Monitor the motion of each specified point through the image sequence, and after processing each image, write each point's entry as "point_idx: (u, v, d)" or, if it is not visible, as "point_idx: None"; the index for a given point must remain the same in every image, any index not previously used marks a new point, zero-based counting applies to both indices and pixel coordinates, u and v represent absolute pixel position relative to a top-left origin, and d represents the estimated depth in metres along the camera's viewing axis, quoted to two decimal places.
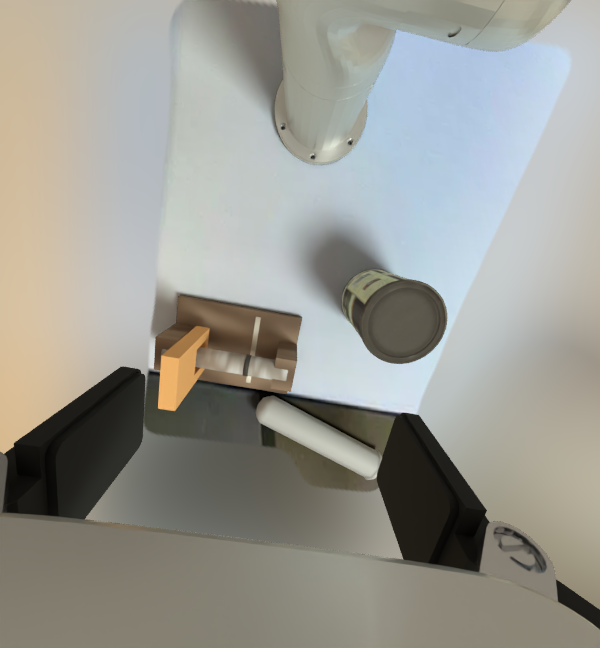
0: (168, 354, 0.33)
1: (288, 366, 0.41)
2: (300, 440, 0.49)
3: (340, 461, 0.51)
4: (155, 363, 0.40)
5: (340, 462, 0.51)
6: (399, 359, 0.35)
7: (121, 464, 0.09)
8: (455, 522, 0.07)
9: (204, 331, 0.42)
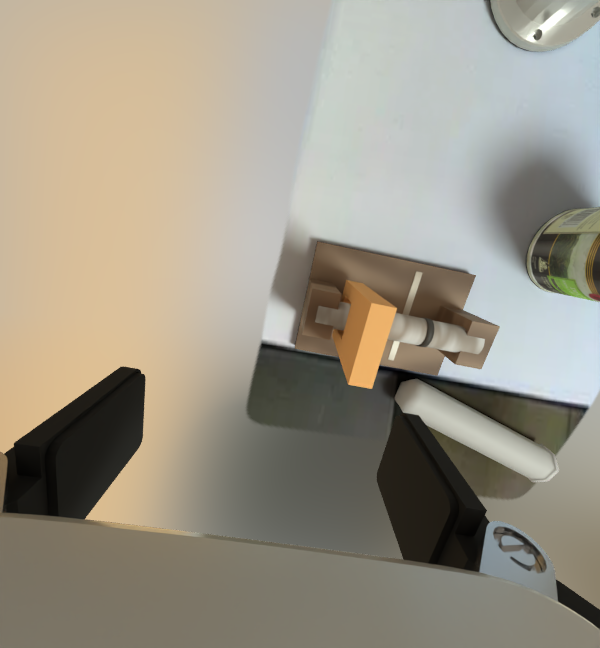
0: (376, 302, 0.22)
1: (486, 333, 0.30)
2: (457, 434, 0.38)
3: (505, 460, 0.39)
4: (305, 326, 0.29)
5: (504, 461, 0.40)
6: None
7: (121, 464, 0.09)
8: (455, 522, 0.07)
9: (364, 285, 0.31)
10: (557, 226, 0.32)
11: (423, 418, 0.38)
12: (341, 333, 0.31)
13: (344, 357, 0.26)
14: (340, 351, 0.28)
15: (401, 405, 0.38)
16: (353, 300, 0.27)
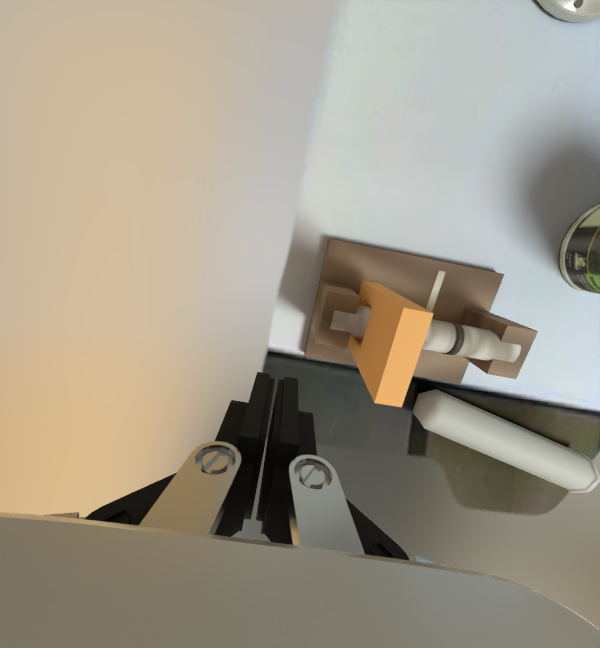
0: (408, 307, 0.18)
1: (522, 339, 0.26)
2: (485, 448, 0.35)
3: (540, 471, 0.36)
4: (319, 333, 0.26)
5: (538, 473, 0.36)
6: None
7: None
8: (275, 456, 0.07)
9: (384, 286, 0.28)
10: (596, 218, 0.29)
11: (446, 433, 0.34)
12: (358, 340, 0.28)
13: (366, 369, 0.23)
14: (359, 361, 0.25)
15: (421, 420, 0.35)
16: (374, 304, 0.24)
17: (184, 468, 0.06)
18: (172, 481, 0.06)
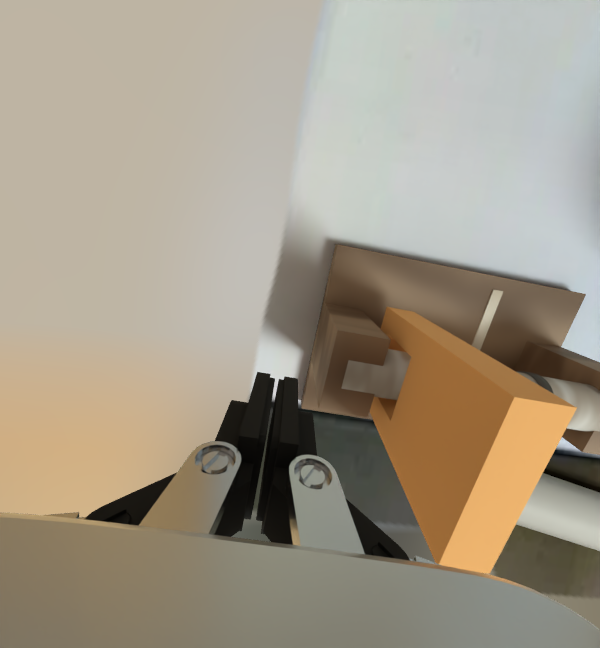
0: (516, 389, 0.09)
1: None
2: (554, 531, 0.25)
3: None
4: (324, 395, 0.16)
5: None
6: None
7: None
8: (275, 456, 0.07)
9: (422, 318, 0.18)
10: None
11: None
12: (384, 400, 0.18)
13: (407, 471, 0.13)
14: (390, 445, 0.15)
15: None
16: (418, 354, 0.14)
17: (184, 468, 0.06)
18: (172, 481, 0.06)
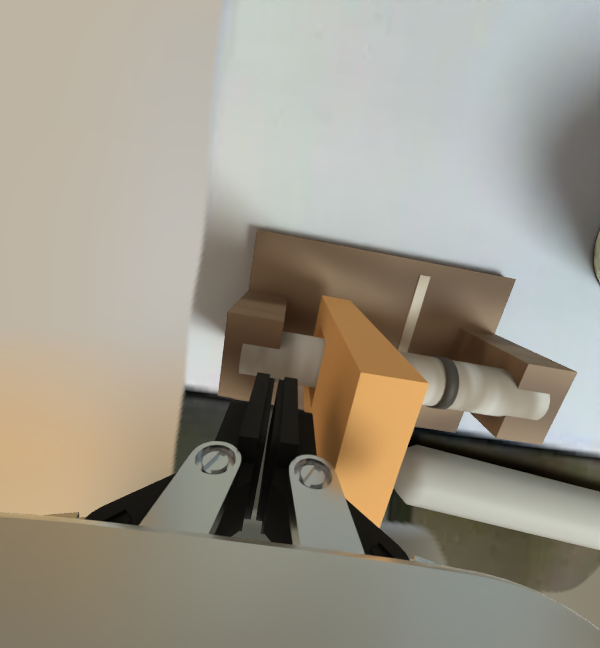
0: (374, 366, 0.08)
1: (552, 385, 0.16)
2: (497, 522, 0.25)
3: (580, 542, 0.25)
4: (222, 381, 0.16)
5: (578, 543, 0.26)
6: None
7: None
8: (275, 456, 0.07)
9: (352, 305, 0.18)
10: None
11: (437, 509, 0.24)
12: (314, 389, 0.18)
13: None
14: None
15: (400, 494, 0.25)
16: (328, 339, 0.14)
17: (184, 468, 0.06)
18: (172, 481, 0.06)
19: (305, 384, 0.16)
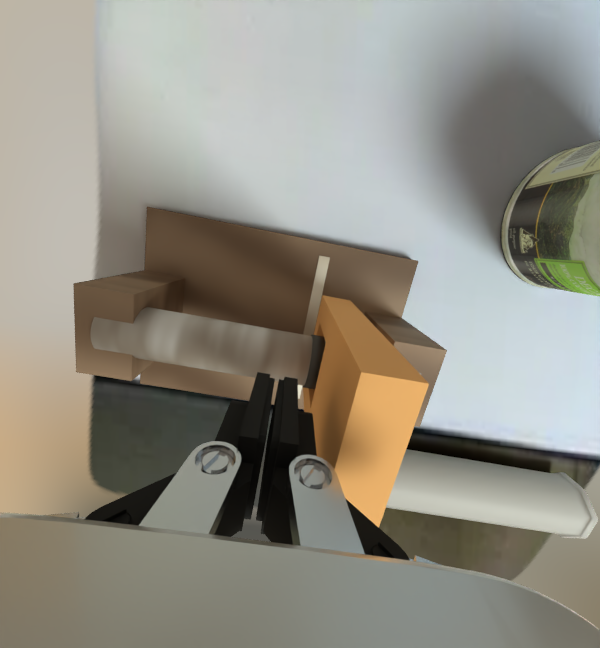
0: (374, 366, 0.09)
1: (423, 364, 0.16)
2: (412, 509, 0.24)
3: (504, 523, 0.25)
4: (78, 356, 0.15)
5: (504, 524, 0.25)
6: None
7: None
8: (275, 456, 0.07)
9: (352, 305, 0.18)
10: (548, 172, 0.19)
11: None
12: (313, 389, 0.18)
13: None
14: None
15: None
16: (328, 339, 0.14)
17: (184, 468, 0.06)
18: (172, 481, 0.06)
19: (166, 361, 0.16)
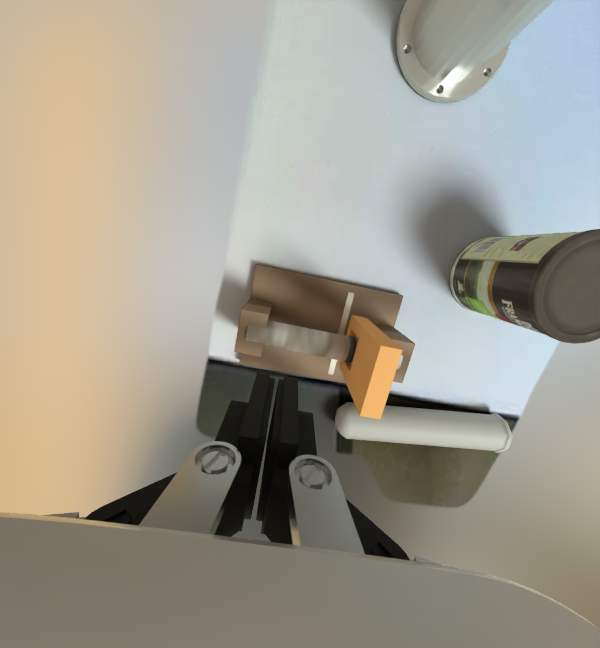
0: (384, 344, 0.25)
1: (403, 350, 0.32)
2: (401, 439, 0.40)
3: (458, 444, 0.41)
4: (237, 344, 0.32)
5: (458, 445, 0.41)
6: (576, 337, 0.26)
7: None
8: (275, 456, 0.07)
9: (369, 321, 0.34)
10: (470, 252, 0.36)
11: (363, 437, 0.40)
12: (348, 364, 0.34)
13: (354, 389, 0.29)
14: (349, 382, 0.31)
15: (340, 432, 0.41)
16: (361, 337, 0.30)
17: (184, 468, 0.06)
18: (172, 481, 0.06)
19: (279, 347, 0.32)
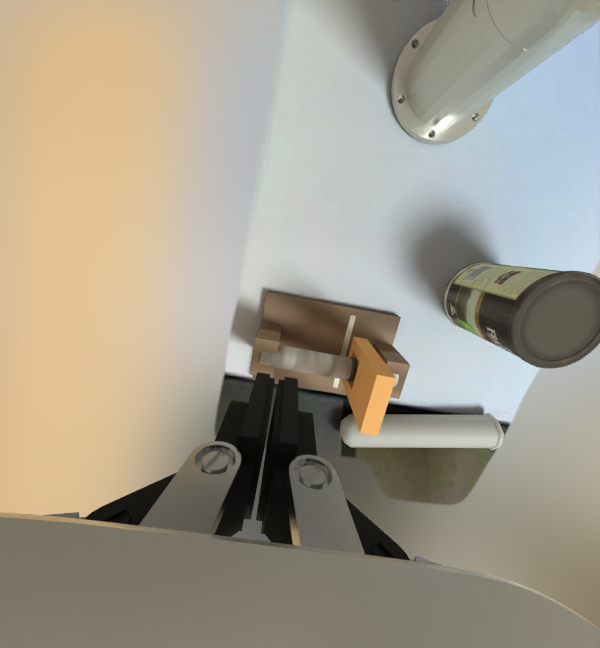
0: (380, 373, 0.29)
1: (400, 370, 0.36)
2: (400, 445, 0.44)
3: (454, 445, 0.45)
4: (252, 367, 0.36)
5: (454, 446, 0.45)
6: (550, 363, 0.30)
7: None
8: (275, 456, 0.07)
9: (369, 343, 0.38)
10: (462, 278, 0.39)
11: (366, 445, 0.45)
12: (350, 382, 0.38)
13: (355, 407, 0.33)
14: (351, 400, 0.36)
15: (345, 442, 0.45)
16: (361, 361, 0.34)
17: (184, 468, 0.06)
18: (172, 481, 0.06)
19: (288, 369, 0.36)
